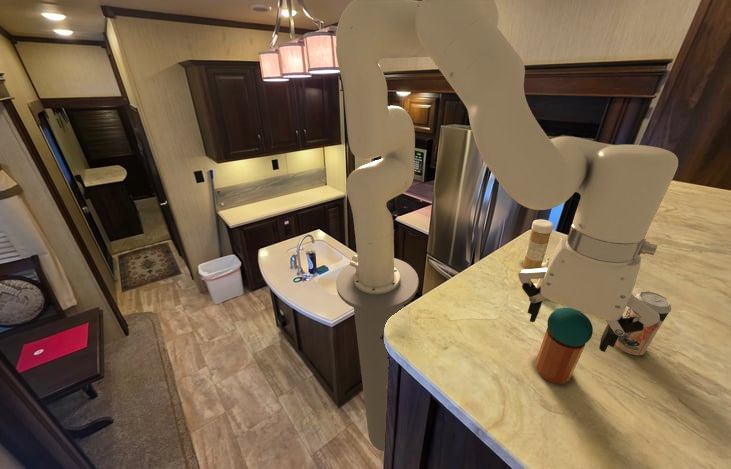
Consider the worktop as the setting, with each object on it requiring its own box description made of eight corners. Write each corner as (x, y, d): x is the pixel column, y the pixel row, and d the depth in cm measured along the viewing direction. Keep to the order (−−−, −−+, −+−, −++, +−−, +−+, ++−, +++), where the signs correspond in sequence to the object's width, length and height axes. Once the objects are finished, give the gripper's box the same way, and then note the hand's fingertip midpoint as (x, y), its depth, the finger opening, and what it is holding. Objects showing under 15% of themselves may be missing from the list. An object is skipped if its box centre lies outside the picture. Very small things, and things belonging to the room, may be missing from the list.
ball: (539, 342, 48) (548, 315, 45) (548, 320, 52) (556, 295, 49) (583, 361, 44) (595, 334, 41) (589, 336, 48) (600, 309, 45)
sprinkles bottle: (529, 259, 81) (540, 217, 74) (545, 268, 77) (558, 223, 71) (518, 265, 79) (529, 221, 73) (533, 273, 76) (546, 228, 69)
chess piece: (550, 288, 70) (560, 254, 66) (550, 301, 67) (562, 266, 62) (527, 283, 73) (536, 250, 68) (526, 295, 69) (536, 261, 64)
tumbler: (531, 372, 52) (543, 337, 47) (539, 352, 55) (551, 318, 51) (566, 390, 49) (582, 354, 44) (572, 367, 52) (588, 332, 48)
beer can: (605, 340, 56) (629, 294, 51) (623, 333, 58) (648, 286, 52) (632, 360, 52) (661, 312, 47) (650, 352, 54) (681, 304, 48)
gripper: (690, 248, 36) (636, 341, 44) (537, 215, 46) (516, 296, 55) (696, 279, 31) (634, 377, 40) (524, 234, 41) (503, 320, 50)
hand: (566, 330), depth 47 cm, fingers open, 9 cm apart
